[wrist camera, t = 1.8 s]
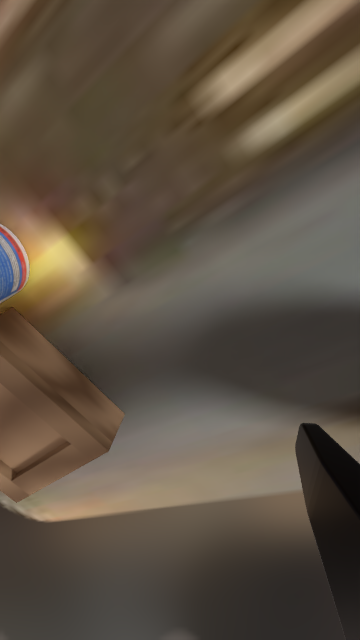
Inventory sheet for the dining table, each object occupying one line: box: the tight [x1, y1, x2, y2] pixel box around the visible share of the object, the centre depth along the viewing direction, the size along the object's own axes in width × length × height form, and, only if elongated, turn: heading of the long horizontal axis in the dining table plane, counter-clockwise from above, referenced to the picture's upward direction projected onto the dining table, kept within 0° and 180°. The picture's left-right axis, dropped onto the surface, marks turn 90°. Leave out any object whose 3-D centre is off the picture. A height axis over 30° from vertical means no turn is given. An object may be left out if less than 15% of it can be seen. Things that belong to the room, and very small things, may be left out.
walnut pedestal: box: [0, 307, 125, 503], centre depth 25 cm, size 12×12×4 cm
